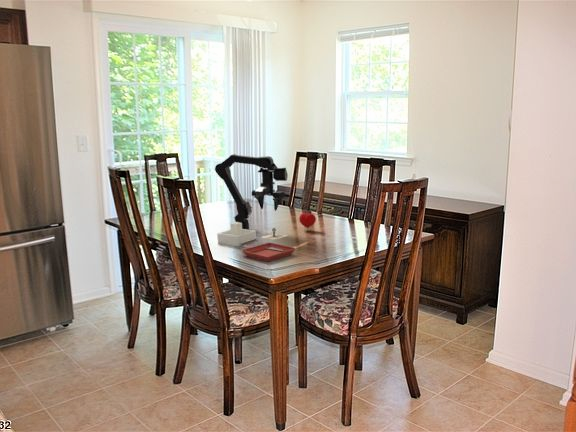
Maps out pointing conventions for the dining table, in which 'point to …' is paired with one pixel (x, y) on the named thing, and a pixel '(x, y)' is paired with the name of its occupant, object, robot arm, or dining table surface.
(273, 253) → the plant saucer
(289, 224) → the dining table surface
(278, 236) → the stud base
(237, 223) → the strut
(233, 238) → the grey bin
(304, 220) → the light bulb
